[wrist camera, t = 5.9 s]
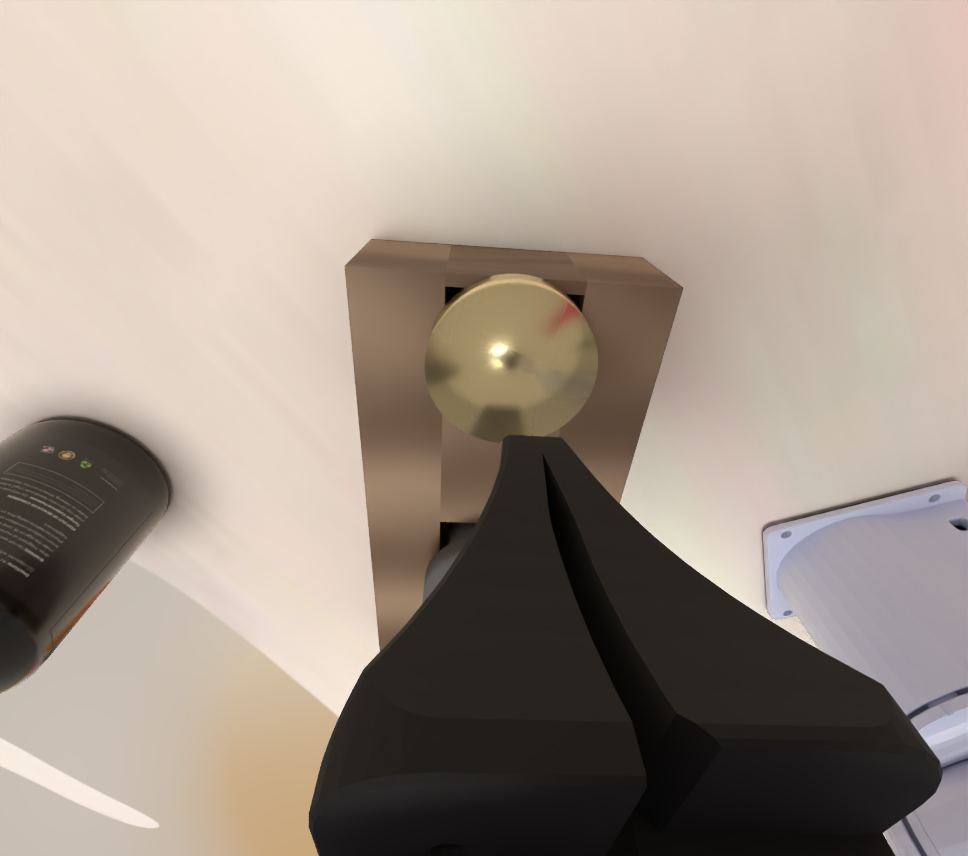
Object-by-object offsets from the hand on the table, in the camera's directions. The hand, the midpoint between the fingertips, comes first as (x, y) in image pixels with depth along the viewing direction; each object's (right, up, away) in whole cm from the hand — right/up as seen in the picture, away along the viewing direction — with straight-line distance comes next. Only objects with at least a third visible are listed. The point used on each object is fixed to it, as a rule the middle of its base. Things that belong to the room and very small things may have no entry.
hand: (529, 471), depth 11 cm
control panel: (-1, -3, +13) cm, 13 cm away
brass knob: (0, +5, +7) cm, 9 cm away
